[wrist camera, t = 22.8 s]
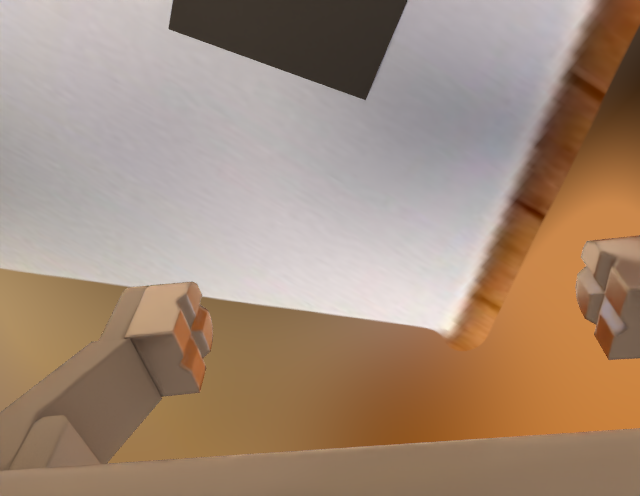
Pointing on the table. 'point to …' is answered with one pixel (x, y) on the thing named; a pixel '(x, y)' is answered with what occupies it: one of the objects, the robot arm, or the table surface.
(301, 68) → the rubber mat
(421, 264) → the table surface
